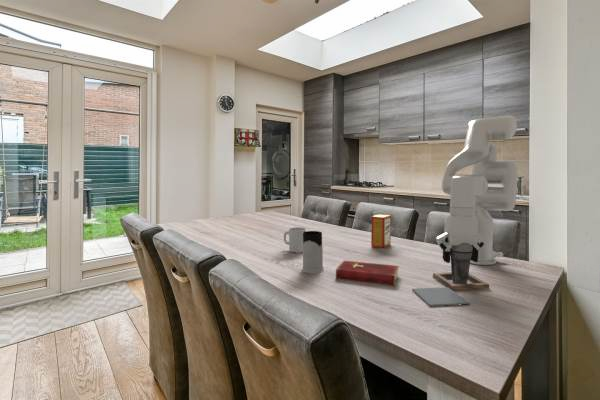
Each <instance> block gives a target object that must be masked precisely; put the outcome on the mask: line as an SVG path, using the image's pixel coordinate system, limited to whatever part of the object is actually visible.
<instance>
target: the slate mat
mask: <svg viewBox="0 0 600 400" xmlns="http://www.w3.org/2000/svg"><path fill="white" fill-rule="evenodd" d="M411 290H412V292H413V293H414V294H416V295H417V297H419V298H420V299H421V300H422V301H423V302H424V303H425V304H426V303H427V304H426V305H427V306H429V307H430V306H432V307H446V306H445V305H455V306H460V305H459V304H470V305H471V303H470V301H468V300H467V299H465V298H464V297H463V296H461V295H460V294H458V293H457V292H456V291H455V290H451V289H450V288H448V287H446V286H444V287H443V286H442V287H421V288H418V287H417V288H412V289H411Z"/></svg>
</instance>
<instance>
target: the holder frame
mask: <svg viewBox="0 0 600 400" xmlns="http://www.w3.org/2000/svg"><path fill="white" fill-rule="evenodd" d="M432 278H433V279H435V280H436V281H438V282H439V283H441V284H442V285H443V286H444V287H448V288H450V289H451V290H452V291H469V290H470V291H471V290H473V289H474V290H475V289H476V290H490V283H487V282H485V281H484V280H482V279H481V278H479V277H477V276H475V275H473V274H471V273H469V274H468V280H467V281H470V282H472V283H467V284H454V283H453V282H451V281H450V279H452V271H451V272H433V275H432Z"/></svg>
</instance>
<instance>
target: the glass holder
mask: <svg viewBox="0 0 600 400" xmlns="http://www.w3.org/2000/svg"><path fill="white" fill-rule="evenodd" d="M323 247H324V246H323V232H322V231H319V230H308V231H307V230H306V232H303V253H302V268H301V270H302V271H301V272H304V273H306V274H318V273H322V272H324V270H325V269H324V264H323V262H324V260H323V255H324V254H323V252H324V251H323Z"/></svg>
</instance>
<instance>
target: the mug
mask: <svg viewBox="0 0 600 400" xmlns="http://www.w3.org/2000/svg"><path fill="white" fill-rule="evenodd" d="M306 231H307V228H306V227H298V226H297V227H296V226H295V227H290V228H288V230H286V231H284V233H283V243H284V244H286V245H288V246H289V247H288V249H289V252H290V251H291V252H290V253H292V252H296V253H295V254H301V253H300V252H303V232H306ZM287 235H288V241H287Z"/></svg>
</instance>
